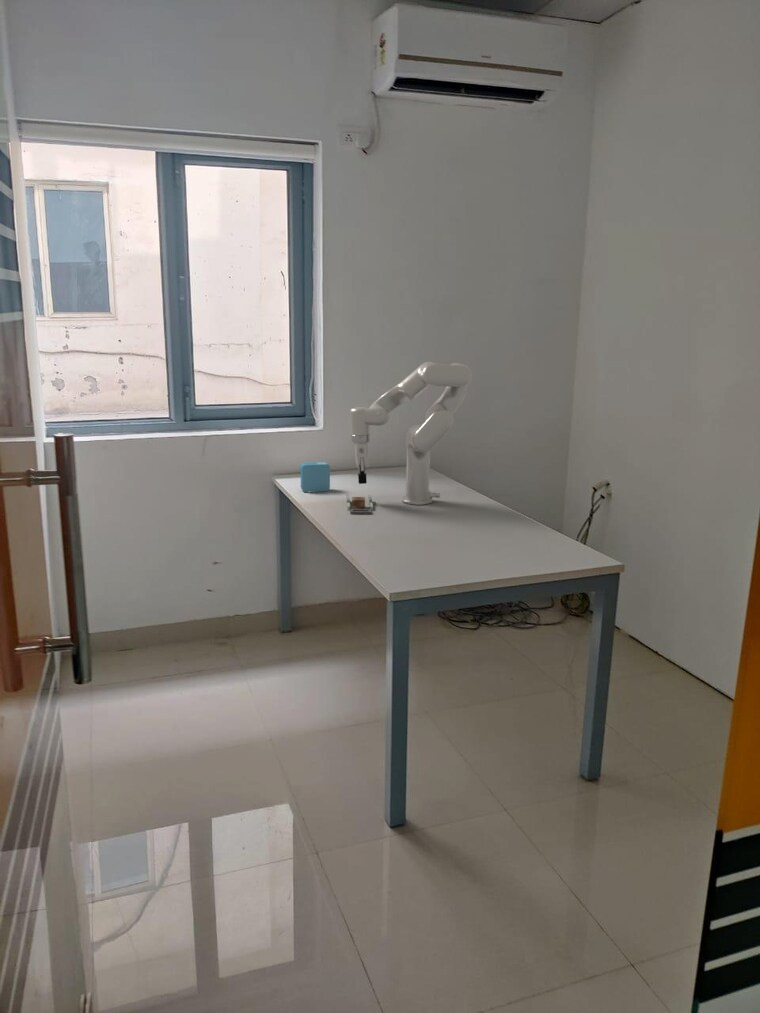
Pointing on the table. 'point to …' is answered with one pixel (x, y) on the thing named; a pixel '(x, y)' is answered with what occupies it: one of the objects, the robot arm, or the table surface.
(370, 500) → the walled lane
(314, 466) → the data package
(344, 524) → the table surface
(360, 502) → the walnut block
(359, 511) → the tray
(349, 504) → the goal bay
